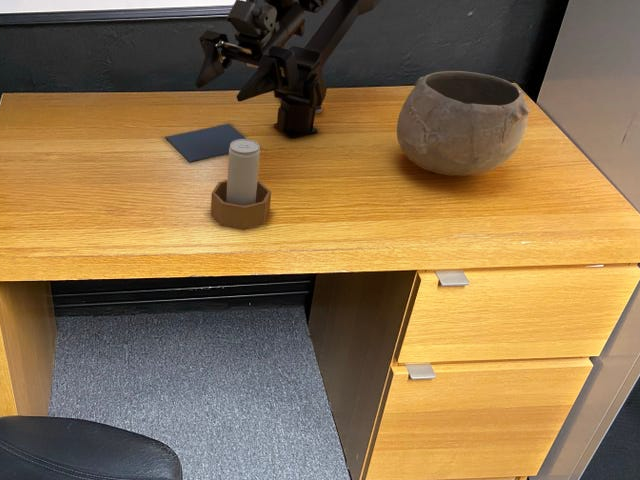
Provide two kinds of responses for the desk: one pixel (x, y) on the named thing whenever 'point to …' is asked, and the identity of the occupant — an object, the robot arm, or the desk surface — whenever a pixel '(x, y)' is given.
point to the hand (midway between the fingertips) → (216, 92)
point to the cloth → (205, 142)
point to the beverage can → (242, 172)
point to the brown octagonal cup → (240, 208)
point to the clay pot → (462, 122)
